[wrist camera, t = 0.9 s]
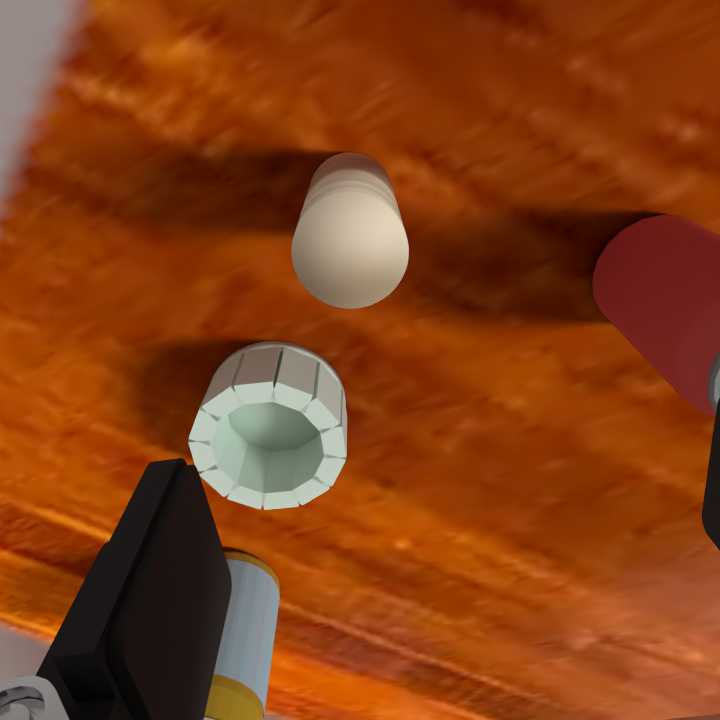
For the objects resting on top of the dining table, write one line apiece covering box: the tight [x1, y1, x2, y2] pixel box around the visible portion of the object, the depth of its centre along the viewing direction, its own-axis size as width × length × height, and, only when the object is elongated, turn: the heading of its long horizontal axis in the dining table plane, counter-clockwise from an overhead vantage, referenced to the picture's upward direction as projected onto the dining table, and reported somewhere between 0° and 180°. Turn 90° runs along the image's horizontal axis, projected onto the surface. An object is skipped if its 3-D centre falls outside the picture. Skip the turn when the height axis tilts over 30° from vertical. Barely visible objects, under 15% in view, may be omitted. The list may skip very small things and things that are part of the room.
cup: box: [188, 341, 347, 510], centre depth 35 cm, size 8×8×5 cm
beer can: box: [592, 215, 720, 417], centre depth 28 cm, size 7×7×12 cm
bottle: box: [204, 551, 280, 720], centre depth 37 cm, size 7×7×15 cm
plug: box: [292, 152, 409, 309], centre depth 27 cm, size 4×4×10 cm
